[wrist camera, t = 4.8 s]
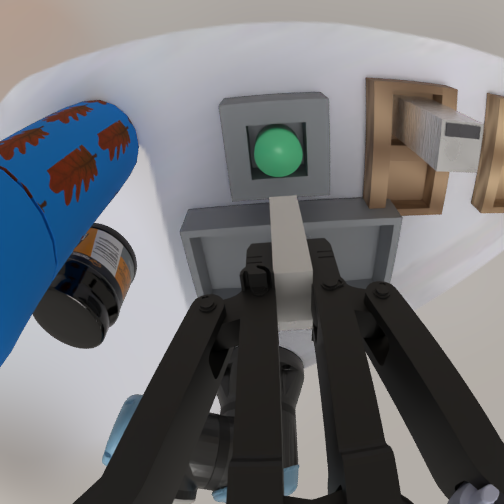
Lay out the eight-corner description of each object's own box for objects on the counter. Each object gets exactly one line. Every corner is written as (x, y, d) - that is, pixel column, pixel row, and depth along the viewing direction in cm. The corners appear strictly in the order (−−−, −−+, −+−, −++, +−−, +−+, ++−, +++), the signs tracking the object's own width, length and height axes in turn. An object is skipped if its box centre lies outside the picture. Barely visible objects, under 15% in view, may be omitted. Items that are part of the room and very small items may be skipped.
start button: (299, 163, 29) (303, 175, 27) (257, 166, 30) (256, 178, 27) (297, 122, 27) (301, 130, 25) (252, 125, 27) (251, 134, 25)
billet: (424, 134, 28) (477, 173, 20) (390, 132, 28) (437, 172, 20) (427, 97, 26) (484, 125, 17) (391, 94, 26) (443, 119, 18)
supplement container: (129, 217, 36) (87, 286, 26) (147, 285, 42) (121, 357, 32) (59, 220, 36) (10, 281, 26) (82, 282, 42) (48, 346, 32)
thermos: (58, 93, 26) (-138, 215, 6) (147, 105, 28) (-48, 265, 8) (55, 182, 33) (-80, 340, 12) (134, 199, 34) (22, 400, 14)
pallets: (517, 203, 32) (527, 212, 30) (362, 205, 34) (368, 217, 32) (535, 105, 24) (547, 111, 22) (365, 77, 26) (374, 80, 24)
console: (322, 178, 32) (329, 195, 29) (235, 183, 33) (232, 201, 30) (320, 92, 27) (328, 98, 24) (223, 98, 28) (218, 106, 24)
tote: (375, 279, 40) (385, 303, 36) (207, 290, 42) (203, 316, 38) (388, 196, 33) (402, 217, 29) (188, 209, 35) (179, 231, 31)
